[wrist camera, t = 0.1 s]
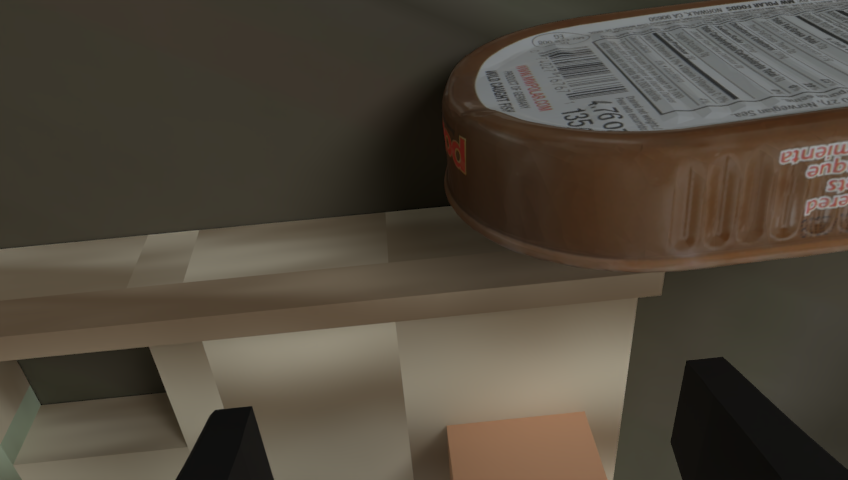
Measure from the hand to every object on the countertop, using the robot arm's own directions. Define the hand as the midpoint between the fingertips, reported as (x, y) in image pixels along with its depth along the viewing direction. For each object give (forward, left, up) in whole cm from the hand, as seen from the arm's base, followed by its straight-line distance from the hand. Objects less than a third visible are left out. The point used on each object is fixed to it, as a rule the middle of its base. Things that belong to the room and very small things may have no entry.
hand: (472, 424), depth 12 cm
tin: (+2, -8, -10) cm, 13 cm away
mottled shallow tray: (-11, +6, -10) cm, 16 cm away
